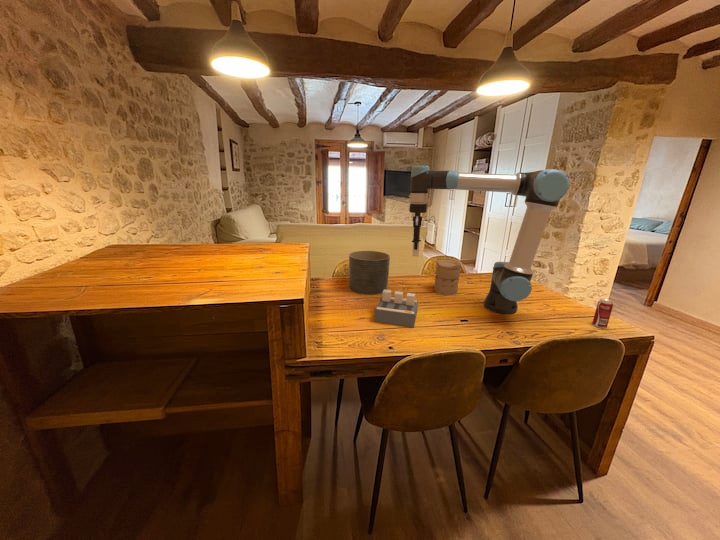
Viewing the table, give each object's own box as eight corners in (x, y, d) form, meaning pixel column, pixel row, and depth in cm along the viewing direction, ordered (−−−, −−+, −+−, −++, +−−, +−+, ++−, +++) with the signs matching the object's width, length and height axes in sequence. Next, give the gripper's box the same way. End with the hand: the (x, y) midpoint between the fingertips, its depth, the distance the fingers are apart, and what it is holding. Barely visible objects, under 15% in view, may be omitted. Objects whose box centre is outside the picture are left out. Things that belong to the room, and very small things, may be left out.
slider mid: (402, 301, 137) (403, 292, 135) (401, 304, 134) (402, 294, 132) (395, 300, 138) (395, 291, 136) (393, 303, 134) (394, 293, 133)
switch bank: (417, 312, 140) (418, 299, 139) (413, 327, 126) (415, 313, 124) (381, 307, 144) (382, 295, 143) (374, 321, 130) (375, 308, 128)
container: (453, 299, 158) (457, 266, 153) (430, 294, 164) (433, 262, 159) (459, 292, 168) (463, 261, 163) (437, 288, 174) (440, 258, 169)
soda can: (592, 322, 136) (598, 297, 133) (606, 325, 133) (614, 300, 129) (591, 326, 132) (598, 300, 129) (606, 329, 129) (614, 304, 126)
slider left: (390, 299, 139) (391, 290, 137) (389, 302, 135) (390, 292, 134) (383, 298, 139) (384, 289, 138) (382, 301, 136) (382, 291, 135)
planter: (390, 286, 175) (393, 252, 170) (383, 299, 155) (385, 262, 149) (354, 281, 181) (355, 249, 175) (343, 294, 160) (343, 257, 155)
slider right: (414, 303, 135) (415, 293, 134) (413, 306, 132) (414, 296, 130) (406, 302, 136) (407, 292, 135) (406, 305, 133) (406, 295, 131)
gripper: (410, 202, 137) (408, 252, 143) (408, 204, 125) (406, 258, 131) (427, 202, 135) (424, 253, 142) (427, 204, 123) (423, 259, 130)
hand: (415, 255), depth 136 cm, fingers closed
